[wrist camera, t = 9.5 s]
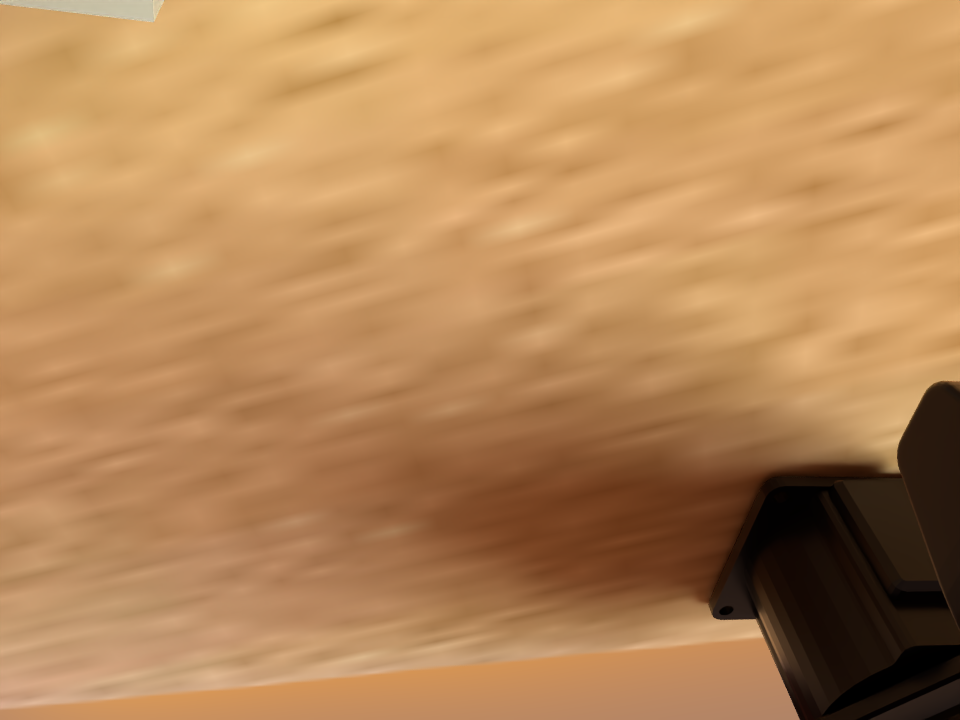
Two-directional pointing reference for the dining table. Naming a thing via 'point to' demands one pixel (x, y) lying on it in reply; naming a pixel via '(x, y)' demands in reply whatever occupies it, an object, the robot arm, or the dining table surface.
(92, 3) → the square base with post
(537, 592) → the dining table surface
